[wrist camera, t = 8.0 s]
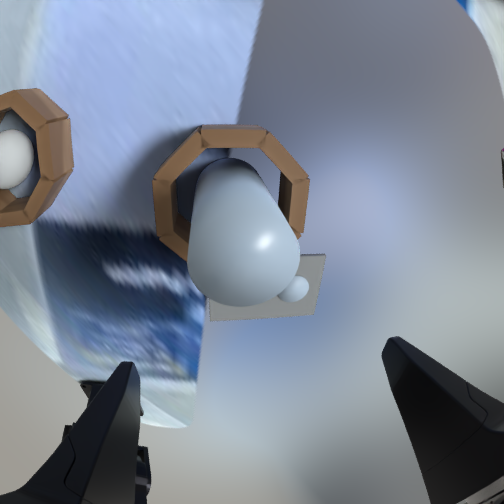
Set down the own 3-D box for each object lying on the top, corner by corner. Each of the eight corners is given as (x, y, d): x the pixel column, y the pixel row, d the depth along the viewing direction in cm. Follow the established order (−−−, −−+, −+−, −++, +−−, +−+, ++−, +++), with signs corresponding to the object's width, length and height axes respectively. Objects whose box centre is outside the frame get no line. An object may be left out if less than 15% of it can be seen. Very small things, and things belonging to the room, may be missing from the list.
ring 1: (79, 203, 18) (62, 221, 15) (-5, 213, 17) (-25, 230, 14) (69, 79, 14) (47, 79, 11) (-19, 108, 12) (-43, 114, 10)
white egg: (47, 175, 16) (18, 194, 13) (8, 181, 16) (-22, 201, 12) (41, 120, 14) (9, 129, 11) (2, 131, 14) (-31, 142, 10)
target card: (312, 312, 26) (314, 315, 25) (210, 318, 24) (210, 322, 24) (324, 253, 23) (326, 256, 22) (207, 257, 21) (207, 260, 21)
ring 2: (287, 247, 22) (298, 269, 19) (166, 251, 21) (161, 274, 18) (299, 127, 18) (314, 133, 15) (159, 126, 16) (149, 132, 14)
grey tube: (260, 220, 21) (293, 303, 13) (196, 221, 20) (191, 308, 12) (264, 158, 18) (306, 209, 11) (195, 158, 18) (183, 210, 10)
